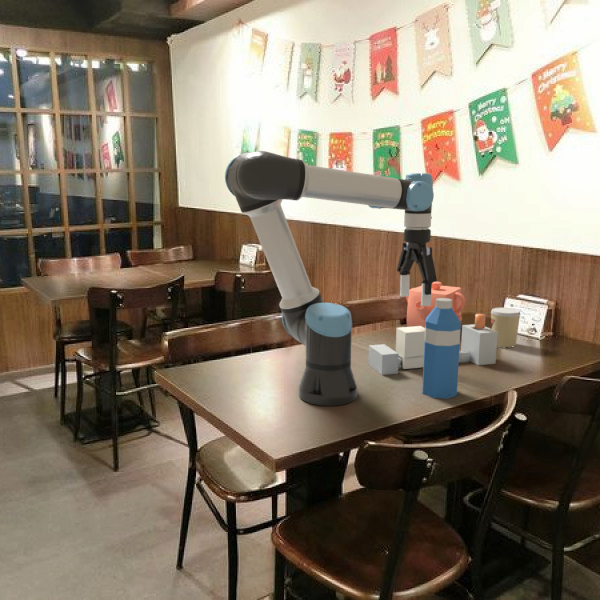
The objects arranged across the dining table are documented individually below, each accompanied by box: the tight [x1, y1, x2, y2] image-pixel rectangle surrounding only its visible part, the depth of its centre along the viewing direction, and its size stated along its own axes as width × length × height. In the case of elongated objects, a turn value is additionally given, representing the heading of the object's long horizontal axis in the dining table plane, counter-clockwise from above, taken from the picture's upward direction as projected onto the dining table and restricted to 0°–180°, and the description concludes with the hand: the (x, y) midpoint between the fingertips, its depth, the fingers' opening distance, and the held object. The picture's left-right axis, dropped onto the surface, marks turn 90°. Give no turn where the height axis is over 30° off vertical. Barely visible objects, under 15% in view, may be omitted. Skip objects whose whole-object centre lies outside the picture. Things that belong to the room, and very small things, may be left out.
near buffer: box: [367, 343, 399, 376], centre depth 175 cm, size 5×10×6 cm, turn 16°
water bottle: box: [422, 298, 462, 399], centre depth 154 cm, size 9×9×25 cm
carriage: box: [395, 326, 425, 370], centre depth 176 cm, size 8×6×11 cm
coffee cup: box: [490, 307, 521, 348], centre depth 199 cm, size 9×9×12 cm
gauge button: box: [474, 313, 487, 329], centre depth 181 cm, size 3×3×4 cm
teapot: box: [405, 281, 467, 328], centre depth 216 cm, size 25×23×18 cm
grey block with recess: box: [460, 323, 498, 366], centre depth 183 cm, size 6×10×10 cm, turn 16°
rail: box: [398, 350, 471, 370], centre depth 179 cm, size 26×2×3 cm, turn 106°
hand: (414, 300), depth 174 cm, fingers open, 13 cm apart
